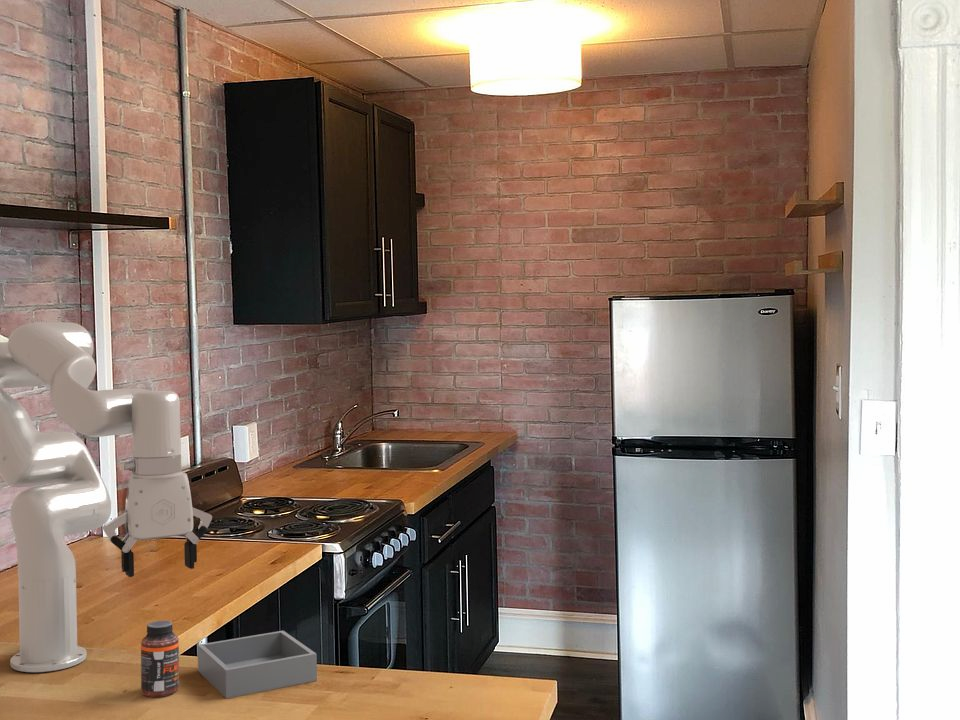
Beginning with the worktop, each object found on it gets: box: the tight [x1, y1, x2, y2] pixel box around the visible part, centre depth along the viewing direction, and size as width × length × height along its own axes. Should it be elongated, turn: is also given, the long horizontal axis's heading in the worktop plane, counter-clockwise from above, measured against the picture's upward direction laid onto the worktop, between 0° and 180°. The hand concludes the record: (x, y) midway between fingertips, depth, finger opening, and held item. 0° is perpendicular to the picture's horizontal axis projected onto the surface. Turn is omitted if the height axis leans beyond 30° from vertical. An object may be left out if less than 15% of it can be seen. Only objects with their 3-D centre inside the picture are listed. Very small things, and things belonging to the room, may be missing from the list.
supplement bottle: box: [140, 620, 180, 698], centre depth 169 cm, size 6×6×11 cm
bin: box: [197, 630, 318, 699], centre depth 177 cm, size 16×16×5 cm
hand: (160, 571), depth 168 cm, fingers open, 9 cm apart
